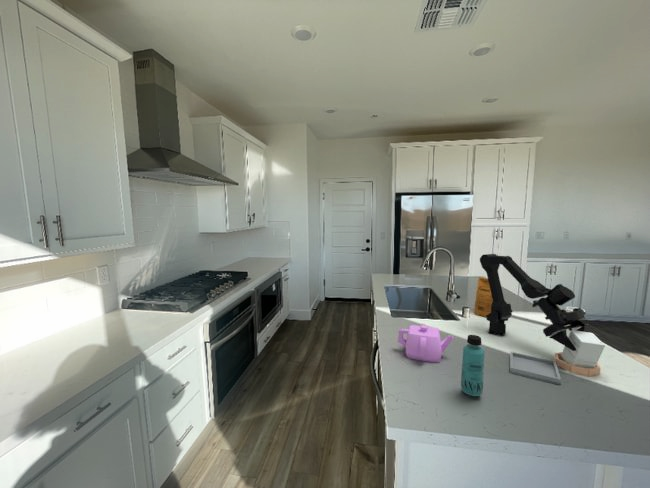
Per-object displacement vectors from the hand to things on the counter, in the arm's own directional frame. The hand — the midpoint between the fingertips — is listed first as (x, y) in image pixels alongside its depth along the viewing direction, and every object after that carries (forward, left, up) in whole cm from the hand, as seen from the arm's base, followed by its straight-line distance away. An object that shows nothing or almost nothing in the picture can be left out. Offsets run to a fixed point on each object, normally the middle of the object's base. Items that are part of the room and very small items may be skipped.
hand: (583, 348), depth 106 cm
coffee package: (-34, +47, -9) cm, 58 cm away
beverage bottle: (-33, -38, -8) cm, 51 cm away
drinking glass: (+2, +30, -8) cm, 31 cm away
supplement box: (-1, +1, -7) cm, 8 cm away
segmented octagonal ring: (-1, +2, -8) cm, 8 cm away
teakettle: (-53, -18, -9) cm, 57 cm away
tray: (-15, -9, -8) cm, 20 cm away
